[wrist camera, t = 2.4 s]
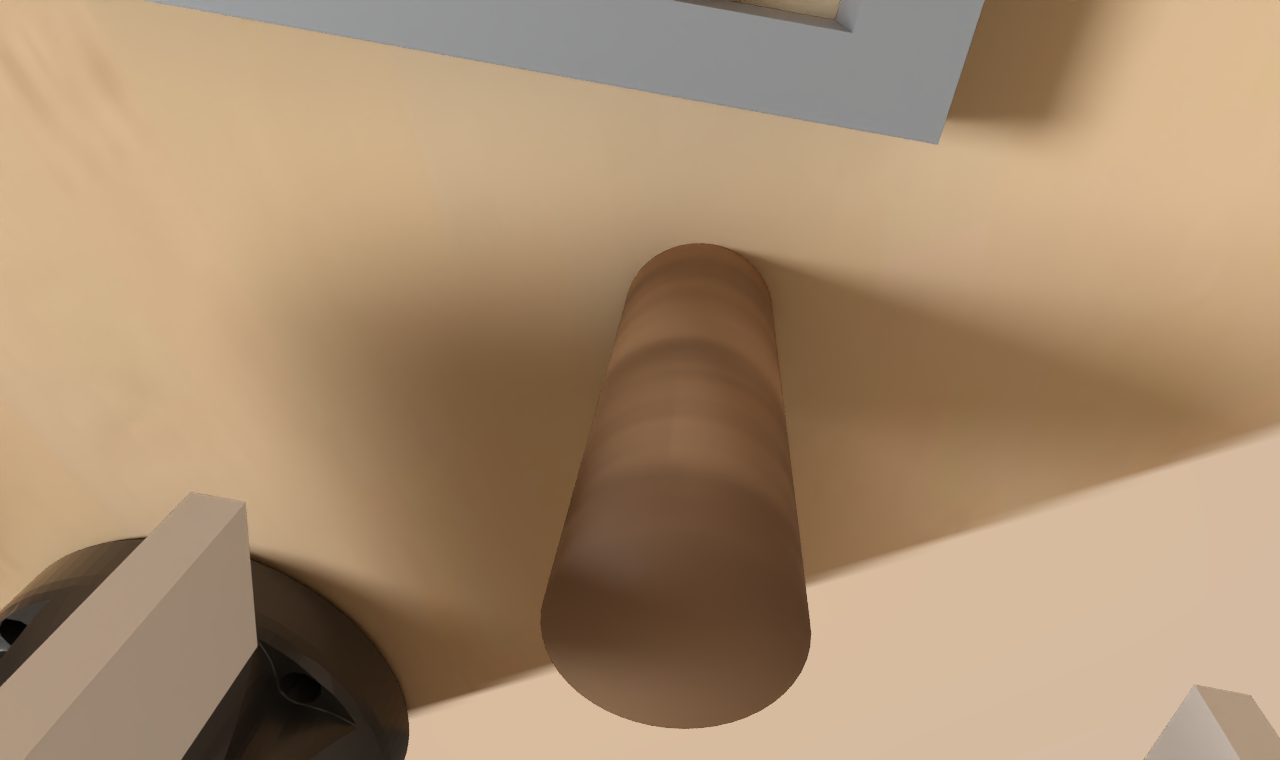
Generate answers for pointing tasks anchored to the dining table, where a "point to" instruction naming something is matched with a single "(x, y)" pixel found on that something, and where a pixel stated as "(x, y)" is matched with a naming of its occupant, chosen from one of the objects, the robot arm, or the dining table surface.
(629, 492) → the walnut peg
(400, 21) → the socket block
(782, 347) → the dining table surface
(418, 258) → the dining table surface
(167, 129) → the dining table surface
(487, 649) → the dining table surface
